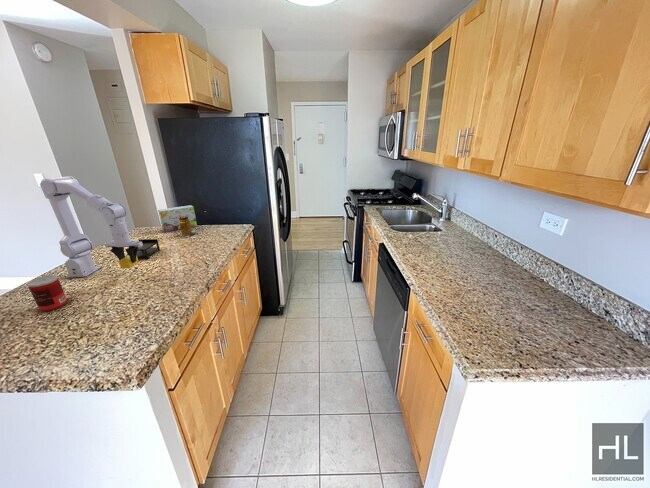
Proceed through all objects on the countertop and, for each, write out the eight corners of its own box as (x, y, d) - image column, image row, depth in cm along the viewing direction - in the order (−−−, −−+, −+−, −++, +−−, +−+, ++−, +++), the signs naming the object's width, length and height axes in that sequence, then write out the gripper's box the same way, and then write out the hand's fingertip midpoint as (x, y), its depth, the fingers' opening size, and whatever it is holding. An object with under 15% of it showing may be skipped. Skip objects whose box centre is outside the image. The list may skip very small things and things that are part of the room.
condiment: (179, 235, 170) (175, 218, 165) (189, 231, 177) (185, 214, 173) (187, 237, 168) (183, 219, 163) (197, 232, 175) (194, 215, 170)
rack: (148, 259, 136) (144, 247, 133) (128, 259, 135) (124, 247, 133) (160, 250, 147) (157, 239, 145) (142, 250, 147) (139, 239, 144)
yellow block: (130, 268, 113) (128, 260, 112) (120, 268, 113) (118, 261, 112) (138, 262, 119) (136, 255, 117) (129, 262, 118) (127, 255, 117)
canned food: (66, 297, 102) (55, 272, 98) (69, 304, 98) (58, 279, 94) (38, 306, 97) (25, 280, 93) (41, 314, 92) (28, 287, 88)
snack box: (164, 232, 175) (159, 211, 170) (162, 230, 179) (157, 209, 174) (197, 226, 189) (193, 206, 183) (194, 224, 192) (191, 204, 187)
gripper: (143, 229, 114) (151, 257, 119) (109, 230, 114) (118, 258, 119) (133, 235, 108) (141, 264, 113) (97, 235, 107) (107, 265, 112)
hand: (129, 261), depth 115 cm, fingers closed on yellow block, 4 cm apart
